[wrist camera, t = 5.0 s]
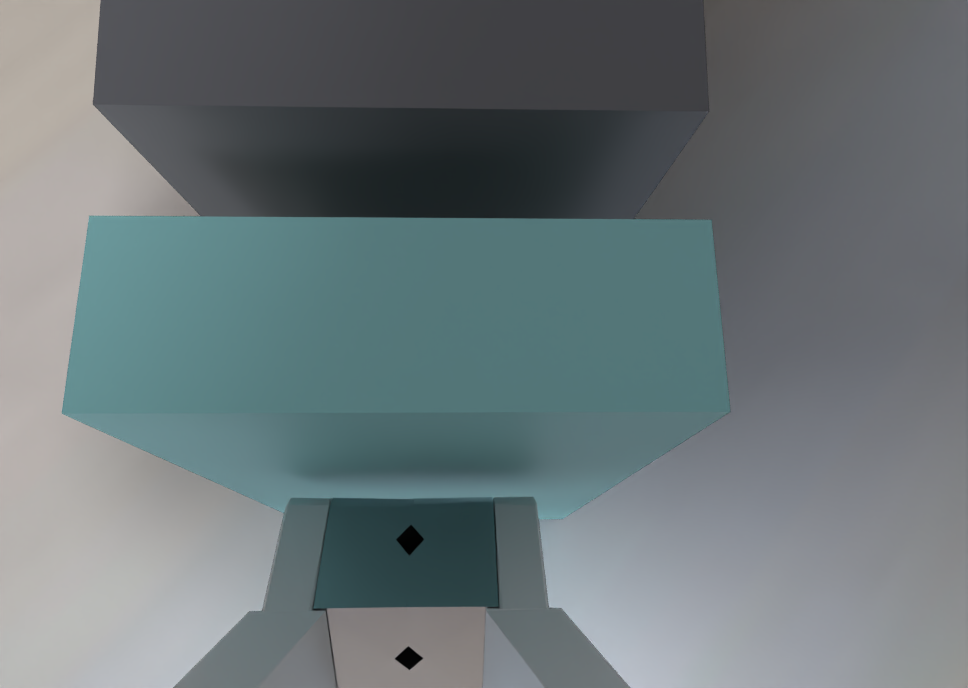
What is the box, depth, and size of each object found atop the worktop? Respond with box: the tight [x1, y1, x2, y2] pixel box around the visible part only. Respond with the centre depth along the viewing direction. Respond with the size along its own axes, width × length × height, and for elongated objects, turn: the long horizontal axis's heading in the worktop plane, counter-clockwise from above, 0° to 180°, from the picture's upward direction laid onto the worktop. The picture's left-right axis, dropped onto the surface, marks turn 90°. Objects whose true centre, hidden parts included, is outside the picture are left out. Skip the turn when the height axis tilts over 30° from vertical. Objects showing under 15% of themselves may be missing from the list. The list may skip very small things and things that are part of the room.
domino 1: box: [93, 0, 709, 219], centre depth 12 cm, size 2×5×10 cm, turn 90°
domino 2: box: [62, 216, 730, 519], centre depth 11 cm, size 2×5×10 cm, turn 90°
